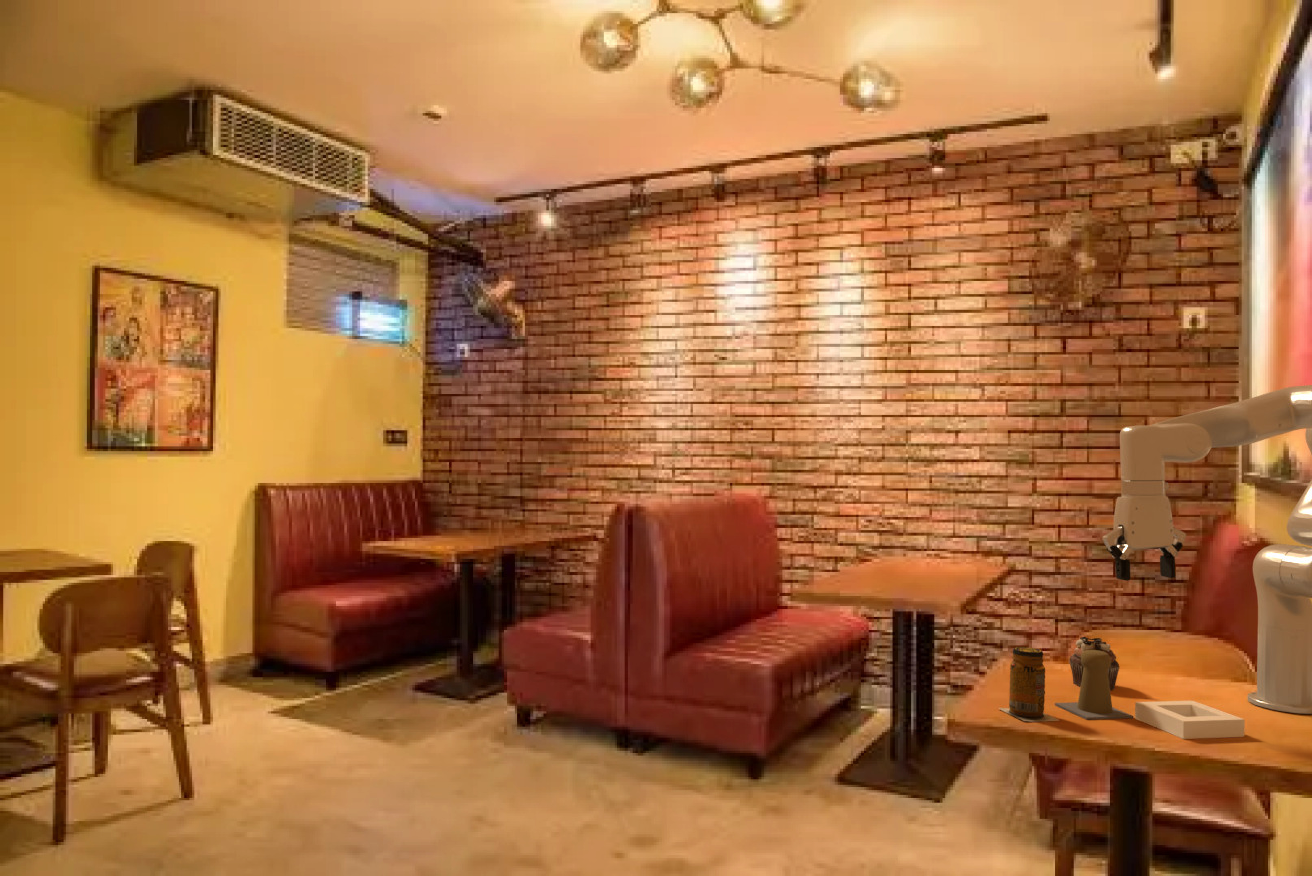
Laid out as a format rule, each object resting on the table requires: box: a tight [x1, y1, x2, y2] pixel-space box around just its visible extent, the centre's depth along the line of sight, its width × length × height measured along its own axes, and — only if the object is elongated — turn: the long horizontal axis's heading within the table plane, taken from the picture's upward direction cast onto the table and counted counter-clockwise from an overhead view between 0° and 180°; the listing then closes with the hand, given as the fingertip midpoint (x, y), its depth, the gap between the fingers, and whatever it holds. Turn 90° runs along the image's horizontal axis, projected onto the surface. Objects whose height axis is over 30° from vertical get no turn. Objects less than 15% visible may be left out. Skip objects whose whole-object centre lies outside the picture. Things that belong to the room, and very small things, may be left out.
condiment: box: [998, 646, 1061, 723], centre depth 170 cm, size 7×8×12 cm
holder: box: [1134, 700, 1245, 740], centre depth 165 cm, size 12×12×3 cm
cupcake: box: [1068, 636, 1120, 691], centre depth 194 cm, size 10×10×10 cm
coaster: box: [1054, 701, 1134, 721], centre depth 174 cm, size 10×10×1 cm
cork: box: [1077, 650, 1113, 714], centre depth 174 cm, size 6×6×11 cm
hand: (1145, 578), depth 177 cm, fingers open, 9 cm apart
